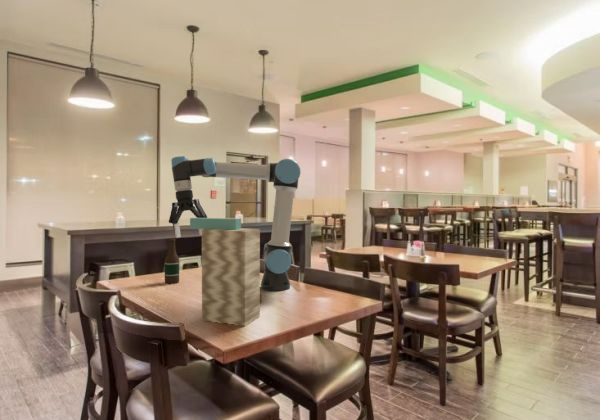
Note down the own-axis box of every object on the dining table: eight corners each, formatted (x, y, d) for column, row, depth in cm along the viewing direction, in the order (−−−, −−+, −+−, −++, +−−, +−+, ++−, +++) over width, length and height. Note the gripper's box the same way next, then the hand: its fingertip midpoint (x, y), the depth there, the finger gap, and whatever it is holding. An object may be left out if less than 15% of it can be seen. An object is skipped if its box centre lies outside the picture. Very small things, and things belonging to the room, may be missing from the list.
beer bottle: (174, 284, 205) (174, 239, 204) (161, 283, 206) (161, 239, 206) (182, 281, 212) (182, 238, 212) (169, 280, 214) (169, 237, 213)
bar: (190, 228, 149) (190, 218, 149) (196, 227, 153) (196, 217, 153) (235, 230, 143) (235, 219, 143) (241, 229, 146) (241, 218, 146)
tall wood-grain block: (202, 320, 144) (201, 229, 143) (219, 312, 155) (219, 227, 154) (245, 326, 138) (245, 231, 137) (259, 316, 149) (259, 229, 148)
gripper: (157, 194, 179) (163, 239, 179) (200, 186, 169) (207, 234, 169) (168, 193, 186) (174, 237, 186) (210, 186, 176) (217, 232, 176)
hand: (190, 236), depth 178 cm, fingers open, 13 cm apart
